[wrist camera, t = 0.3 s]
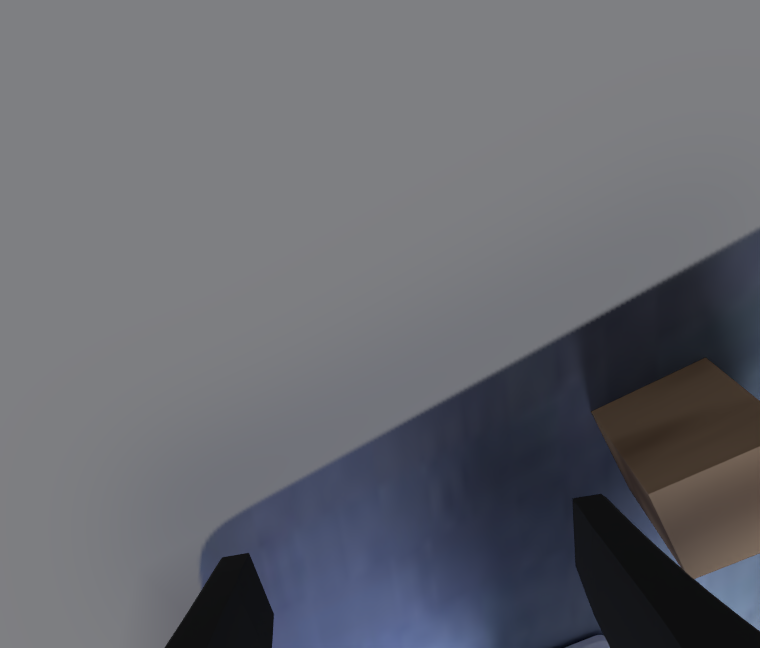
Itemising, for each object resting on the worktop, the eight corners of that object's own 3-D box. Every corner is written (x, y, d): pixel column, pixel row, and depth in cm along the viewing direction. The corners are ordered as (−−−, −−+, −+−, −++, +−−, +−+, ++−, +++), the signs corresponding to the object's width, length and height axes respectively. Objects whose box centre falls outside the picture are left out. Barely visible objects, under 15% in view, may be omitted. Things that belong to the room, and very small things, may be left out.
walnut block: (735, 441, 24) (824, 527, 19) (628, 487, 24) (689, 580, 20) (704, 356, 22) (796, 430, 17) (590, 410, 23) (648, 494, 18)
